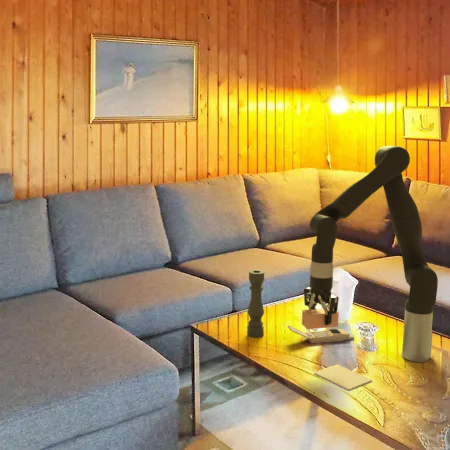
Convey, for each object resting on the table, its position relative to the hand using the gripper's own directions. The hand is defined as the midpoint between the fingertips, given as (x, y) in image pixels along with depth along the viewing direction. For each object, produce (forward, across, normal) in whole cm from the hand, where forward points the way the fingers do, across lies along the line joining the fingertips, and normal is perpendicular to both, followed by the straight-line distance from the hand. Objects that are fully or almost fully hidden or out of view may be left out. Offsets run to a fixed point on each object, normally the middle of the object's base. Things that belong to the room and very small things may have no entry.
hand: (319, 321), depth 212 cm
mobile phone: (+15, +14, -16) cm, 26 cm away
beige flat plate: (+15, -13, +2) cm, 20 cm away
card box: (+1, 0, 0) cm, 1 cm away
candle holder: (+15, +32, +1) cm, 35 cm away
